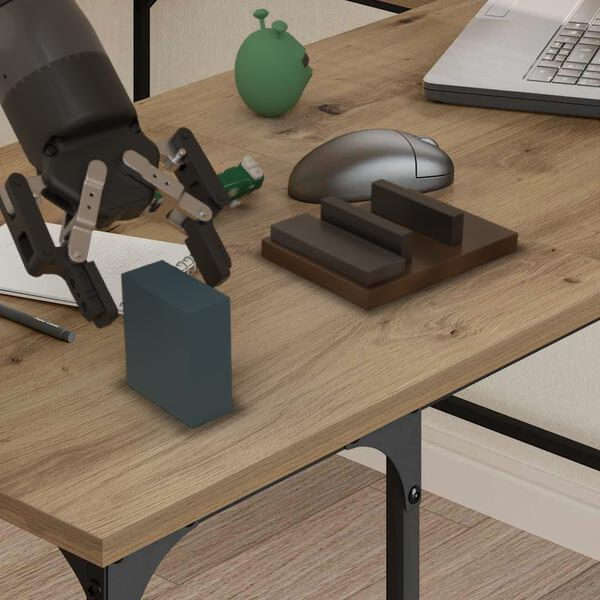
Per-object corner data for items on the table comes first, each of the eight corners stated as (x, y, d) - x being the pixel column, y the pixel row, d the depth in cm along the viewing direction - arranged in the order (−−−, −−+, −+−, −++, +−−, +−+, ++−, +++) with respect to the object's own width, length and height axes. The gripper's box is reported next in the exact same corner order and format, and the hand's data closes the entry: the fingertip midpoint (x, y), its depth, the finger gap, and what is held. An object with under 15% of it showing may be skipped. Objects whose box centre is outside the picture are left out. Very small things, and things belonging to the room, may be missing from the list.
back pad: (191, 428, 87) (187, 313, 83) (126, 384, 91) (120, 273, 88) (232, 411, 89) (230, 297, 85) (167, 368, 93) (162, 259, 90)
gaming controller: (162, 241, 116) (194, 209, 111) (141, 201, 116) (172, 167, 111) (248, 211, 121) (281, 180, 117) (227, 173, 122) (260, 140, 117)
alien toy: (325, 118, 137) (326, 17, 133) (253, 130, 134) (252, 27, 129) (293, 97, 143) (293, -1, 138) (223, 108, 140) (221, 9, 135)
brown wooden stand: (367, 310, 101) (369, 260, 99) (261, 256, 109) (260, 208, 107) (517, 250, 110) (521, 202, 109) (408, 204, 118) (410, 159, 117)
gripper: (-29, 72, 83) (91, 313, 81) (167, 28, 91) (282, 246, 89) (-62, 133, 89) (49, 360, 87) (125, 86, 97) (231, 292, 95)
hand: (167, 302), depth 88 cm, fingers open, 8 cm apart
